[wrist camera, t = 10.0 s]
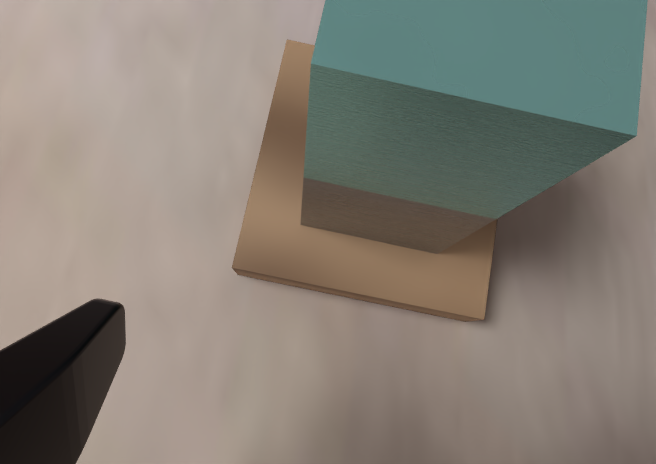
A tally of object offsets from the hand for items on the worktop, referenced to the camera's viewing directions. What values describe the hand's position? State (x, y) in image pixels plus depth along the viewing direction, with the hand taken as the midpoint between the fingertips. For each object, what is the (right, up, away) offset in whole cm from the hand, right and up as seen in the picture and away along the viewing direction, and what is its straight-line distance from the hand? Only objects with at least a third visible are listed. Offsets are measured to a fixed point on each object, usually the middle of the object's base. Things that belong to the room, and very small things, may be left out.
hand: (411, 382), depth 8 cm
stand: (+1, +4, +13) cm, 14 cm away
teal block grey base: (+1, +4, +11) cm, 12 cm away
